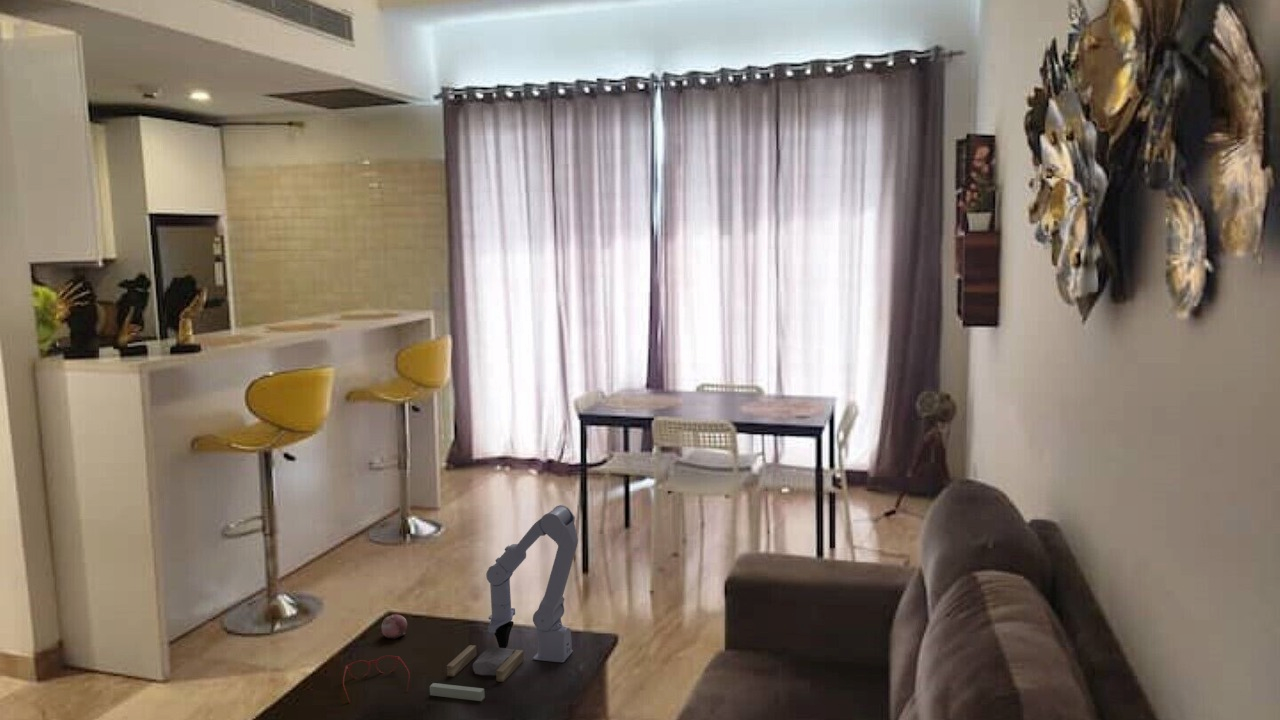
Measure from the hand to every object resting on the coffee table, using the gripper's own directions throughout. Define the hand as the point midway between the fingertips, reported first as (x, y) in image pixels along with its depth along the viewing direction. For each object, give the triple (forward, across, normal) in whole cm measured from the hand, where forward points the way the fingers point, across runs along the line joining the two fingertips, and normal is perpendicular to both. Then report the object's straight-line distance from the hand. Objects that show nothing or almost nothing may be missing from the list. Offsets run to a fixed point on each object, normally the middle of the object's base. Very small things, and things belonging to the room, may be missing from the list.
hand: (503, 647), depth 274 cm
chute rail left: (+1, +12, -8) cm, 14 cm away
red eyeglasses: (+2, +28, -25) cm, 38 cm away
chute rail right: (+1, +12, +8) cm, 14 cm away
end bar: (+1, +29, 0) cm, 29 cm away
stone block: (+2, +10, +1) cm, 10 cm away
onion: (+2, -3, -38) cm, 38 cm away
